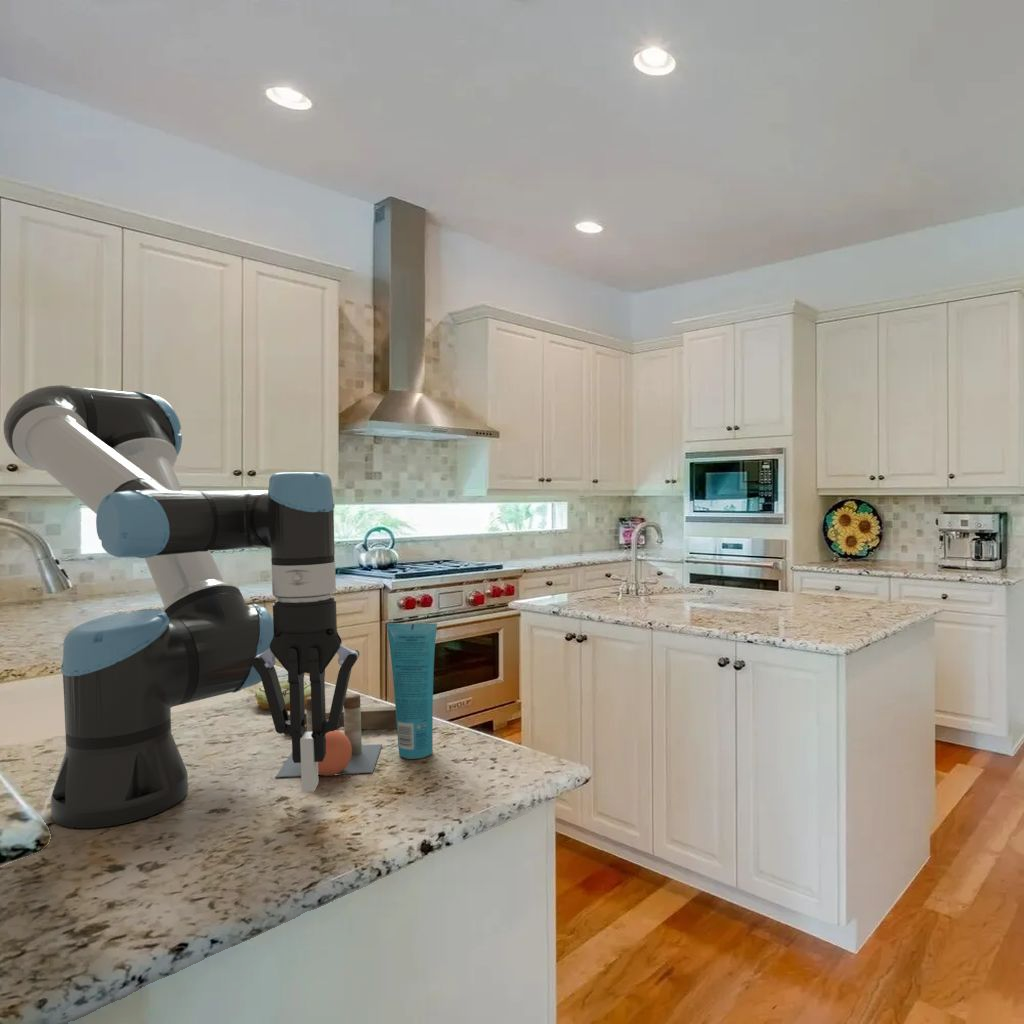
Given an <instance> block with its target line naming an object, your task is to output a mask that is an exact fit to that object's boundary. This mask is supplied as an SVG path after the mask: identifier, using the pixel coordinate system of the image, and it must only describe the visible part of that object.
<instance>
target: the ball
mask: <svg viewBox="0 0 1024 1024" xmlns="http://www.w3.org/2000/svg"><path fill="white" fill-rule="evenodd" d="M351 755H352V747H351V743H350V741H349V739H348V737H347V736H346V735H345V734H343V733H342V732H340V731H338V730H335V731H330V732H327V733H326V755H325V758H324V759H323V761H322V762H318V774H320V775H324V776H323V777H330V776H336V775H335V774H337V773H339V772H341V771H342V770H343V769H344V768H345V767H346V766H347V765H348V763H349V761H350V759H351Z"/></svg>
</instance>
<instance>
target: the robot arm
mask: <svg viewBox="0 0 1024 1024" xmlns="http://www.w3.org/2000/svg"><path fill="white" fill-rule="evenodd" d="M181 430H182V426H181V422H180V419H179V416H178V414H177V412H176V410H175V409H174V407H173V406H172V405H171V404H170V403H169V402H168V401H167V400H166V399H164V398H162V397H161V396H158V395H155V394H154V395H153V394H147V393H145V392H141V391H134V390H133V391H118V390H109V389H100V388H91V387H90V388H89V387H81V386H80V387H79V386H73V385H63V384H62V385H48V386H44V387H39V388H36V389H33V390H31V391H28V392H27V393H25V394H23V395H22V396H21V397H19V398H18V399H16V400H15V402H14V403H12V405H11V406H10V408H9V410H8V411H7V413H6V415H5V418H4V421H3V435H4V439H5V441H6V443H7V446H8V448H9V449H10V451H12V453H13V454H14V455H15V456H16V457H17V458H18V459H19V460H21V461H22V462H23V463H24V464H25V465H27V466H28V467H30V468H33V469H36V470H39V471H45V472H47V473H48V474H49V475H50V476H52V478H54V480H56V481H57V482H58V483H59V484H61V485H62V486H63V487H64V488H65V489H66V490H67V491H69V492H70V493H71V494H72V495H73V496H75V497H76V499H78V500H79V501H81V502H82V503H83V505H85V506H86V507H87V508H89V509H90V510H91V511H92V512H94V514H96V516H95V522H96V523H95V524H96V528H95V529H96V534H97V538H98V539H99V540H100V541H101V547H102V548H103V550H104V551H105V552H106V553H107V554H109V555H110V556H112V557H115V558H139V559H144V560H145V563H146V566H147V567H148V569H149V572H150V575H151V578H152V581H153V582H154V585H155V587H156V589H157V592H158V595H159V598H160V600H161V602H162V604H163V608H162V609H156V608H151V609H150V608H148V609H147V608H146V609H138V610H137V609H136V610H132V611H130V612H129V611H124V612H118V613H113V614H109V615H106V616H101V617H98V618H96V619H91V620H89V621H86V622H83V623H81V624H79V625H77V626H75V627H74V628H73V629H71V630H70V631H69V632H68V633H67V634H66V636H65V637H64V640H63V644H62V645H63V647H62V663H61V666H60V671H61V674H62V682H63V683H62V684H63V704H64V705H63V706H64V730H65V752H64V756H63V759H62V761H61V765H60V768H59V771H58V775H57V777H56V779H55V780H56V781H55V783H54V787H53V790H52V793H51V796H50V797H51V798H50V813H51V814H50V818H51V820H52V821H53V822H54V823H55V824H56V825H59V826H61V827H62V826H63V827H65V826H67V827H66V828H71V829H72V828H74V827H76V828H75V829H94V828H95V829H96V828H106V827H111V826H117V825H122V824H128V823H131V822H135V821H136V822H137V821H139V820H143V819H145V818H149V817H151V816H155V815H157V814H160V813H161V812H163V811H166V810H167V809H170V808H171V807H173V806H175V805H176V804H178V803H179V802H181V801H182V800H183V799H184V798H185V797H186V796H187V794H188V792H189V777H188V770H187V768H186V765H185V763H184V760H183V758H182V756H181V753H180V750H179V749H178V746H177V743H176V741H175V739H174V736H173V734H172V733H173V732H172V720H171V719H172V718H171V717H172V711H171V710H172V709H171V708H173V707H176V706H180V705H185V704H189V703H193V702H197V701H201V700H205V699H209V698H214V697H217V696H222V695H226V694H229V693H231V694H232V693H233V694H234V693H237V692H240V691H241V690H243V689H246V688H251V687H252V686H256V685H257V684H260V683H262V686H263V687H264V691H265V694H266V698H267V701H268V705H269V708H270V710H269V712H270V715H271V718H272V722H273V726H274V730H275V732H276V733H278V734H281V735H282V734H284V735H288V736H289V737H290V738H291V753H292V759H293V761H294V763H301V777H300V778H301V779H300V780H301V792H302V793H306V792H307V793H308V792H315V790H316V789H317V786H318V784H319V776H318V762H322V761H323V759H324V758H325V755H326V733H327V732H330V731H335V730H336V728H337V727H338V725H339V723H340V720H341V715H342V711H343V709H344V702H345V697H346V695H347V691H348V688H349V687H348V686H349V682H350V678H351V672H352V668H353V667H354V666H355V664H356V662H357V660H358V659H359V658H360V652H359V650H358V649H351V648H349V647H347V646H346V645H344V644H343V643H342V638H341V637H340V635H339V632H338V626H337V625H338V624H337V622H338V620H337V617H338V616H337V599H335V597H333V596H332V595H334V593H336V591H337V587H336V585H337V584H336V583H337V582H336V581H337V579H336V561H335V512H334V509H335V503H334V494H333V486H332V480H331V476H329V474H327V473H324V472H319V471H318V472H315V471H310V472H309V471H304V472H303V471H302V472H301V471H297V472H296V471H293V472H288V471H287V472H286V471H285V472H276V473H274V474H272V475H270V477H269V481H268V482H269V483H268V489H266V490H259V489H258V490H257V489H256V490H249V489H244V490H241V489H237V490H183V489H182V486H181V484H180V481H179V479H178V477H177V475H176V472H175V471H174V468H173V467H174V465H175V463H176V462H177V459H178V455H179V454H180V451H181V448H182V442H183V435H182V434H181V432H180V431H181ZM242 549H243V550H244V549H270V552H271V553H270V555H271V558H270V559H271V565H270V566H271V585H272V586H271V588H272V596H273V597H275V598H277V599H276V600H275V601H274V603H272V615H271V613H270V611H269V610H268V609H267V608H266V607H264V606H262V605H260V604H256V603H252V604H249V605H248V604H247V603H246V601H245V598H244V596H243V594H242V593H241V590H240V588H239V587H238V586H237V585H234V584H232V583H228V582H225V581H224V580H223V577H222V574H221V572H220V570H219V568H218V566H217V564H216V561H215V559H214V557H213V555H212V552H215V551H216V552H217V551H218V552H220V551H230V550H232V551H233V550H242ZM336 654H337V655H338V659H337V663H338V664H339V666H340V668H339V669H338V670H339V671H338V673H337V678H336V682H335V687H334V691H333V697H332V700H331V701H332V702H331V707H330V709H331V710H330V714H329V719H327V720H326V688H325V687H326V686H325V678H326V677H325V676H326V668H327V667H328V666H329V665H330V663H331V662H332V660H333V658H334V657H335V656H336ZM276 659H277V661H278V662H279V663H280V664H281V666H282V667H283V668H284V669H285V671H286V672H287V680H288V682H289V692H290V710H289V711H290V719H289V715H288V712H287V711H288V710H287V708H286V705H285V701H284V698H283V694H282V691H281V687H280V684H279V681H280V680H279V678H278V673H277V671H276V670H277V669H276V668H275V665H276ZM305 674H308V675H309V683H310V684H311V709H312V732H304V729H305V728H306V725H305V710H306V707H304V682H305V679H304V678H305Z"/></svg>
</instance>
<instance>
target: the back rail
mask: <svg viewBox="0 0 1024 1024" xmlns="http://www.w3.org/2000/svg"><path fill="white" fill-rule="evenodd" d="M360 708H361V731H364V730H365V729H368V730H383V729H384V730H385V729H386V730H387V729H391V730H392V729H397V721H396V708H395V706H377V707H374V706H372V707H360ZM325 709H326V708H325ZM330 710H331V708H329V709H326V720H327V719H329V714H330ZM287 712H288V715H289V719H290V710H287ZM305 725H306V728H305V729H304V733H305V732H307V715H306V709H305ZM340 727H344V708H343V711H342V715H341V720H340V723H339V725H338V727H337V728H336V730H338V729H339V728H340ZM362 729H364V730H362Z"/></svg>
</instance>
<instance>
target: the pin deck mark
mask: <svg viewBox="0 0 1024 1024" xmlns="http://www.w3.org/2000/svg"><path fill="white" fill-rule="evenodd" d="M382 745H383V744H382V743H381V744H380V743H379V744H362V752H361V753H360V754H358V755H351V759H350V761H349V763H348V765H347V766H346V767H345V768H344V769H343V770H342V771H341V772H339V773H337V774H349V775H360V774H359V773H370V774H373V773H374V771H373V770H375V768H374V767H376V765H375V764H377V761H378V758H379V755H380V753H381V749H382ZM355 773H356V774H355ZM318 775H320V774H318ZM295 776H301V763H294V761H293V759H292V752H291V753H290V755H289V756H288V757H287V759H286V760H285V762H284V763H283V764H282V766H281V768H280V769H279V771H278V772H277V774H276V775H275V777H288V778H296V777H295Z"/></svg>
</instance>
